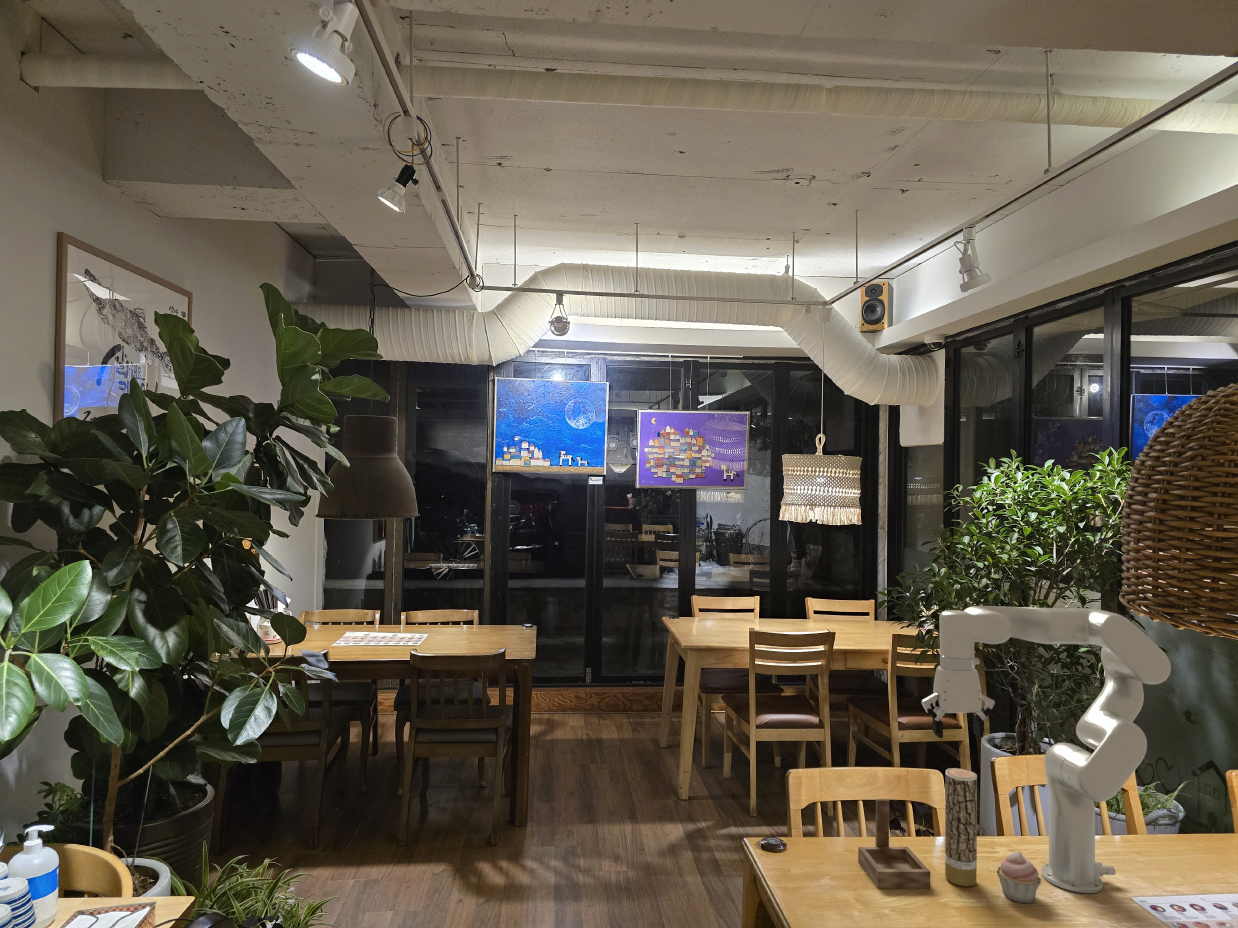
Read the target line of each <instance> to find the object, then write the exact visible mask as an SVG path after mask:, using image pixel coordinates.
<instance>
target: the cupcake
mask: <svg viewBox="0 0 1238 928" xmlns="http://www.w3.org/2000/svg"><path fill="white" fill-rule="evenodd" d="M995 872H996V874H997V876H998V878H999V882H1000V886H1001V889H1002V893H1003V895H1004V896H1005V897H1006V898H1008V899H1009V900H1011V901H1013V902H1017V903H1022V904H1031V903H1033V902H1034V901H1035V899H1036V896H1037V890H1038V889H1039V887H1040V886H1041V884H1042V883H1041V882H1042V881H1043V879H1042V878H1041V877H1040V875H1039V871H1038V869H1037V867H1035V866H1034V864H1033V863H1032V862H1031V860H1029V859H1028V858H1027V857H1025V856H1023V854H1022V853H1021V851H1013V852H1011V853H1010V854H1008V855H1006V857H1005V858H1003V859H1002V860H1001V862H1000V866H997V869H996V871H995Z"/></svg>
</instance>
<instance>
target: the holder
mask: <svg viewBox="0 0 1238 928" xmlns="http://www.w3.org/2000/svg"><path fill="white" fill-rule="evenodd" d="M857 848H858V849H857V851H858V857H857V859H858V860H857V861H858V864H859V865H860V867H861V868H862V869H863V871H864V872H865V873H866V874H867V876H868V877H869V879H870V880H871V881H872V882H873V884H874V885H875V887H876V888H878V889H931V871H930V869H929V868H928V867H927V866H926V865H925V864H924V863H923V862H922V861H921V859H920V858H919V857H918V856H916V854H915V853H914V852H913V851H912V850H911V849H910V847H909V846H890V799H889V798H876V799H875V846H858V847H857Z"/></svg>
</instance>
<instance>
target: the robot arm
mask: <svg viewBox="0 0 1238 928" xmlns="http://www.w3.org/2000/svg"><path fill="white" fill-rule="evenodd" d="M938 623H939V625H938V626H939V667H936V670H935V675H934V679H933V690H932V692H933V693H932V694H931V695H928V696H926V697H925V698H923V699H922V700H921V701H920V702H921V705H922V707H923V709H924V711H925V713H927V714H928V715H929V716H930V718H932V732H933V734H934V735H935V736H936V737H937V738H938V739H943V738H944V724H943V723H944V722H943V721H942V720H941V719H942V718H943V717H944V716H945V714H965V713H967V714H969V713H970V714H971V713H973V714H974V715H975V716H973V734H974V735H975V736H977V737H979V738H984V733H985V721H986V720H987V718H988V716H989V715H990V714H991V713H992V709H993V708H994V706H995V704H996V701H995V700H994V699H992V698H990V697H988V696H986V695H984V694H982V688H981V681H980V677H979V673H978V670H977V669H975V668H976V665H980V664H981V661H980V658H978V657H976V656H975V643H984V644H989V645H998V644H1004V643H1005V642H1007V641H1008V640H1009V639H1010V638H1013V639H1018V640H1024V641H1028V642H1033V643H1037V644H1044V645H1094V646H1097V647H1101V650H1100V659H1101V664H1102V666H1103V670H1104V678H1105V679H1104V685H1103V687H1102V690H1101V691H1100V692H1099V694H1098V696H1097V697H1096V698H1094V700H1093V702H1092V703H1091V705H1090V706H1089V707H1088V708H1087V709H1086V711H1085V712H1084V713H1083V714H1082V715H1081V717H1080V719H1079V720H1078V722H1077V724H1076V726H1075V733H1076V735H1077V737H1078V739H1079V740H1080V741H1081V742H1082V743H1083V744H1084V745H1085V746H1087V747H1088V748H1091V749H1092V750H1094V751H1093V752H1092V753H1091V752H1089V751H1088V750H1086V749H1084V748H1082V747H1079V746H1078V745H1075V744H1073V743H1068V742H1056V743H1055V744H1052V745H1051V746H1050V747H1049V748H1048V749H1047V750H1046V753H1045V755H1044V759H1043V760H1044V770H1045V777H1046V783H1047V789H1048V791H1047V792H1048V863H1045V864H1043V865H1042V866H1041V869H1040V871H1041V872H1040V873H1041V876H1042V878H1044V879H1045V880H1046V881H1047V882H1049V883H1050V884H1052V885H1054V886H1056V887H1059V888H1061V889H1064V890H1066V891H1070V892H1074V893H1079V894H1080V893H1082V894H1095V893H1099V892H1100V891H1102V890H1103V888H1104V883H1103V879H1102V878H1101V877H1103V876H1105V875H1106V876H1114V875H1116V869H1115V867H1114V866H1112V865H1103V863H1102V862H1101V861H1096V808H1095V807H1096V805H1095V802H1096V803H1097V802H1098V803H1099V802H1106V801H1108V800H1110V799H1112V798H1113V797H1114V796H1116V795H1117V794H1118V793H1119V791H1120V790H1121V789H1122V788H1123V787H1124V785H1125V784H1126V782H1128V781H1129V779H1130V777H1131V776H1132V775H1133V773H1134V772H1135V771H1136V769H1138V767H1139V765H1140V764H1141V763H1142V761H1143V760H1144V758H1145V756H1146V753H1147V750H1148V749H1147V748H1148V740H1147V737H1146V734H1145V733H1144V731H1143V730H1142V728H1140V727H1139V726H1138V725H1137V724H1136V723H1134V721H1135V719H1136V718H1137V716H1138V715H1139V713H1140V712H1141V710H1142V708H1143V705H1144V700H1145V693H1144V687H1143V684H1146V685H1158V684H1162V683H1163V682H1165V681H1167V679H1168V678H1169V677H1170V674H1171V670H1172V665H1171V661H1170V659H1169V657H1168V656H1167V654H1166V653H1165V652H1164V651H1163V650H1162V648H1161V647H1159V646H1158V645H1157V644H1156V643H1155V642H1154V641H1153V640H1152V639H1150V638H1149V636H1147V635H1146V634H1145V633H1144V632H1143V631H1142V630H1141V629H1139V628H1138V626H1136V624H1134V623H1133V622H1132V621H1130V620H1129V619H1128V618H1126V617H1125V616H1123V615H1121V614H1119V613H1115V612H1112V611H1111V612H1110V611H1107V610H1101V609H1098V608H1096V609H1095V608H1085V607H1083V608H1082V607H1080V608H1078V607H1069V608H1068V607H1067V608H1066V607H1063V608H1062V607H1061V608H1060V607H1056V608H1055V607H1033V606H1032V607H1031V606H1030V607H1028V606H1027V607H1025V606H1023V607H1018V606H1002V605H1001V606H1000V605H998V606H997V605H973V606H972V605H971V606H970V607H969V606H968V607H967V608H965V609H964V610H951V609H949V610H944V611H941V612H940V614H939V621H938ZM983 702H984V703H985V704H984V706H983ZM931 704H932V705H933V707H934V709H932V706H931Z"/></svg>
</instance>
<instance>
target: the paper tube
mask: <svg viewBox="0 0 1238 928" xmlns="http://www.w3.org/2000/svg"><path fill="white" fill-rule="evenodd" d="M944 794H945V799H944V801H945V802H944V803H945V805H944V806H945V811H944V814H945V815H944V816H945V821H944V822H945V823H944V827H945V828H944V830H945V831H944V838H945V839H944V841H945V842H944V844H945V845H944V863H945V864H944V865H945V866H944V868H945V869H944V874H945V875H944V876H945V878H946V880H947V881H949V882H950V883H951V884H953V885H955V886H957V887H958V886H959V887H965V888H969V887H973V886H975V885H976V884H977V870H978V869H977V864H978V861H977V860H978V859H977V856H978V855H977V853H978V851H977V850H978V849H977V847H978V846H977V843H978V841H977V840H978V838H977V837H978V833H977V832H978V831H977V830H978V827H977V826H978V819H977V818H978V812H977V811H978V807H977V806H978V800H977V799H978V774H976V773H975V772H973V771H971V770H967V769H964V768H958V767H957V768H956V767H955V768H954V767H953V768H947V769H946V770H945V793H944Z"/></svg>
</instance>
